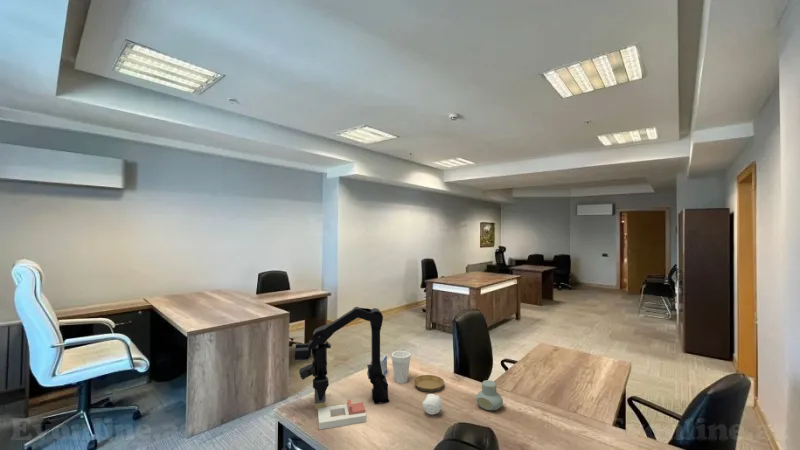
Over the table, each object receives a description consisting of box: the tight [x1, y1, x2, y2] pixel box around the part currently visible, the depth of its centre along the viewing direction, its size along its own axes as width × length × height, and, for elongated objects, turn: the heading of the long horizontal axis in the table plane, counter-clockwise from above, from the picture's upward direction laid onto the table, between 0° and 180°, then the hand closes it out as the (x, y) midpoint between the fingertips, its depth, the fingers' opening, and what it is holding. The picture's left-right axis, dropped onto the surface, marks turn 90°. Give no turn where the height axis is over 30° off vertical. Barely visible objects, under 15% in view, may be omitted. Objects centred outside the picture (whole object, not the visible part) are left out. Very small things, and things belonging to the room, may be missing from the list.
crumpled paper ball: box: [421, 393, 443, 415], centre depth 137 cm, size 8×8×8 cm
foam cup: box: [391, 350, 411, 384], centre depth 168 cm, size 10×9×13 cm
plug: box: [314, 389, 327, 410], centre depth 144 cm, size 4×4×7 cm
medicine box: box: [380, 354, 388, 377], centre depth 175 cm, size 8×4×9 cm, turn 168°
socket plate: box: [317, 401, 367, 430], centre depth 134 cm, size 18×11×2 cm, turn 105°
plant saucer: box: [412, 374, 445, 393], centre depth 161 cm, size 15×15×3 cm
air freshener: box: [475, 379, 504, 411], centre depth 141 cm, size 11×8×10 cm
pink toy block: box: [346, 398, 366, 414], centre depth 136 cm, size 6×6×3 cm
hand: (320, 395), depth 144 cm, fingers open, 9 cm apart
